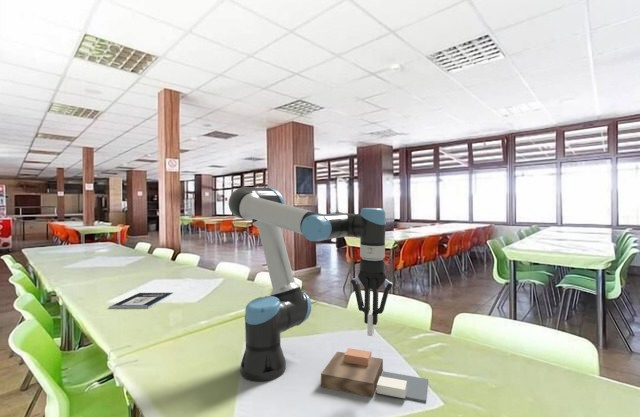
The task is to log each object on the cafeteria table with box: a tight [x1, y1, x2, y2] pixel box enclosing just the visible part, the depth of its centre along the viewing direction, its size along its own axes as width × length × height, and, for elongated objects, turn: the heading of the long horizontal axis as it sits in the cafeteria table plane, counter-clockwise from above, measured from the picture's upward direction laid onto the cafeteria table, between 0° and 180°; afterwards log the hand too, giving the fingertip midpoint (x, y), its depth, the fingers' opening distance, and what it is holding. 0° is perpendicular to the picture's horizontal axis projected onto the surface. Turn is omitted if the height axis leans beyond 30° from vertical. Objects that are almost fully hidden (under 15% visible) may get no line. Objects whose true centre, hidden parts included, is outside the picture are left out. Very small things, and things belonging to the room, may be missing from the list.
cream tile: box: [376, 375, 407, 399], centre depth 97 cm, size 8×5×2 cm, turn 69°
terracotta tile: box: [344, 347, 372, 366], centre depth 109 cm, size 8×5×2 cm, turn 69°
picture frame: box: [108, 292, 174, 310], centre depth 193 cm, size 22×30×2 cm
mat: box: [375, 370, 429, 403], centre depth 100 cm, size 14×12×1 cm
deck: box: [320, 351, 384, 398], centre depth 105 cm, size 16×16×4 cm
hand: (370, 334), depth 102 cm, fingers closed
